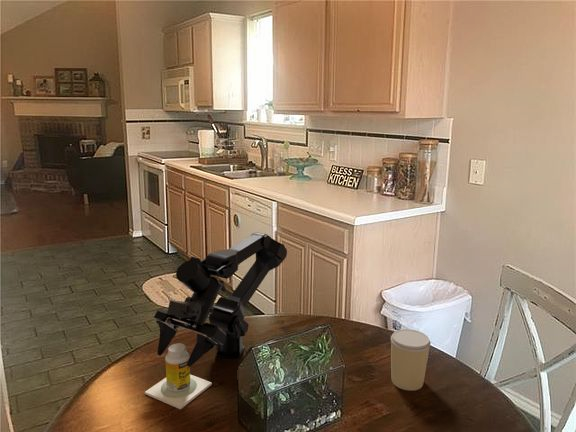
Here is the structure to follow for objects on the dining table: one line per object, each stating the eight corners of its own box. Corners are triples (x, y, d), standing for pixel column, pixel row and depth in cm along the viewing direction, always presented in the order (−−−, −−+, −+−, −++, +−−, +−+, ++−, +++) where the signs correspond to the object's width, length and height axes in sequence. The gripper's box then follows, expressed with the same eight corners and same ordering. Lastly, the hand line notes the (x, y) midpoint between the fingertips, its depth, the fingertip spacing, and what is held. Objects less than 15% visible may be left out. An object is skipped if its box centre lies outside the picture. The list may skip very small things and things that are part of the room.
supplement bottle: (180, 395, 109) (178, 356, 107) (161, 388, 112) (159, 349, 109) (195, 383, 114) (193, 345, 112) (177, 377, 116) (175, 339, 114)
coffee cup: (429, 376, 119) (433, 333, 116) (423, 396, 111) (427, 350, 108) (392, 367, 123) (395, 325, 120) (383, 386, 115) (386, 341, 112)
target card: (177, 371, 120) (177, 369, 120) (211, 384, 115) (211, 382, 115) (145, 394, 111) (144, 391, 111) (180, 409, 105) (180, 406, 105)
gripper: (156, 278, 115) (124, 338, 108) (217, 294, 106) (185, 361, 99) (180, 296, 123) (151, 353, 116) (238, 313, 114) (211, 376, 107)
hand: (173, 360), depth 110 cm, fingers open, 9 cm apart
